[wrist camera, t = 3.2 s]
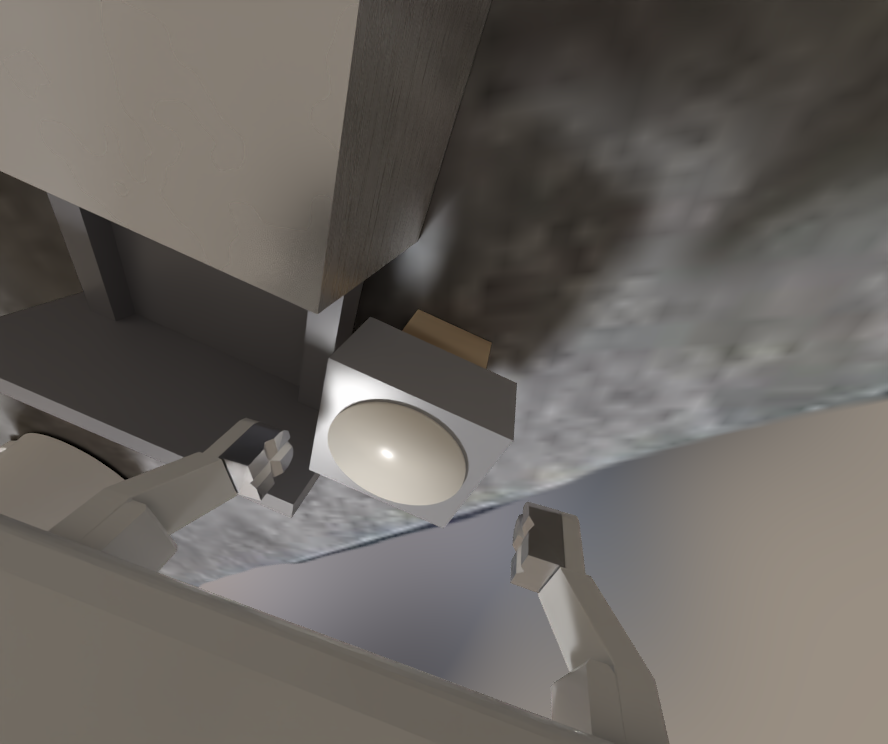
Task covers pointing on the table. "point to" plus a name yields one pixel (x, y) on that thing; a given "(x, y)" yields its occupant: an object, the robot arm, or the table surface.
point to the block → (449, 338)
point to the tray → (171, 351)
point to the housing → (242, 125)
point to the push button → (410, 422)
